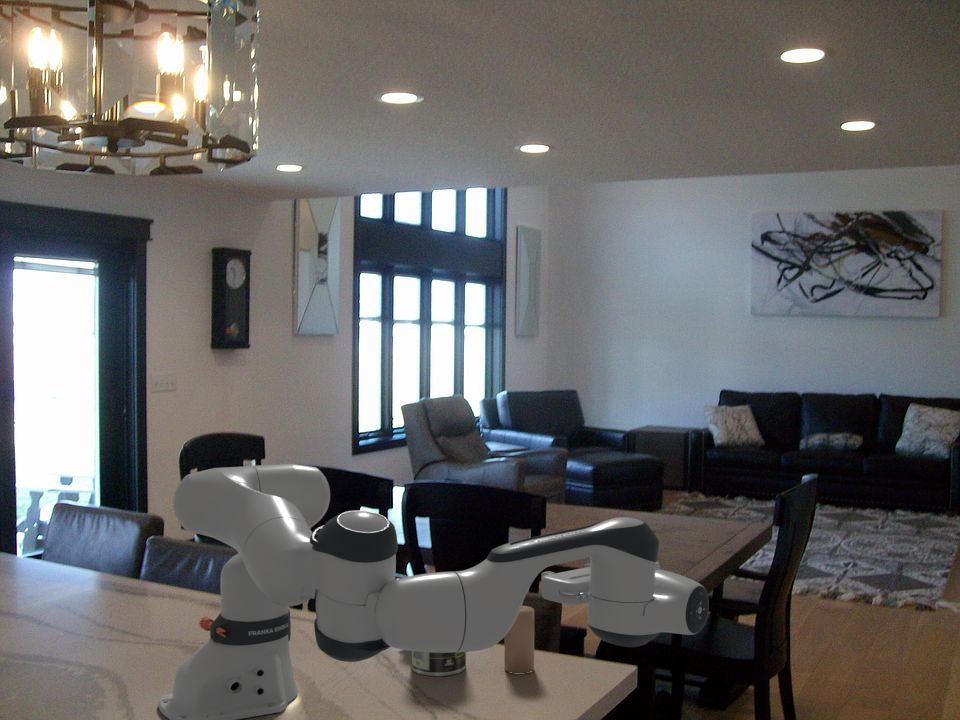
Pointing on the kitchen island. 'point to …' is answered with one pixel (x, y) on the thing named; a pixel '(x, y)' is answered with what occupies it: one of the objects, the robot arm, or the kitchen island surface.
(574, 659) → the kitchen island surface
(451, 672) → the coffee can
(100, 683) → the kitchen island surface
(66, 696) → the kitchen island surface
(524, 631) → the tan rounded cylinder
